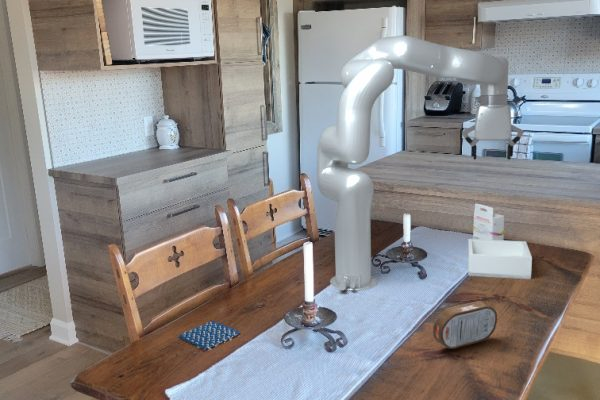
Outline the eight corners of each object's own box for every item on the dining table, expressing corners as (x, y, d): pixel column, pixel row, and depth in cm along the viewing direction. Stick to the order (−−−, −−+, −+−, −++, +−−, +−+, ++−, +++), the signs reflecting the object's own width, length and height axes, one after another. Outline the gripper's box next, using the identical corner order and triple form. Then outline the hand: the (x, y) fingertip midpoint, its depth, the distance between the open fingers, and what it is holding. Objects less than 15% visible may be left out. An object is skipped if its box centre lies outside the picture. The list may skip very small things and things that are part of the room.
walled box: (530, 279, 153) (532, 257, 152) (468, 275, 158) (469, 254, 156) (524, 261, 168) (526, 241, 166) (467, 258, 172) (468, 239, 170)
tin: (488, 332, 124) (490, 296, 122) (499, 338, 121) (500, 301, 120) (431, 348, 118) (431, 310, 117) (440, 354, 116) (441, 315, 114)
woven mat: (175, 343, 126) (174, 335, 125) (213, 326, 133) (212, 318, 133) (205, 358, 119) (204, 349, 118) (243, 339, 126) (242, 331, 126)
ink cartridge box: (503, 253, 175) (506, 206, 172) (491, 255, 173) (493, 208, 170) (484, 245, 183) (485, 200, 180) (471, 248, 181) (473, 202, 178)
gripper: (462, 102, 167) (461, 160, 171) (526, 101, 162) (523, 161, 166) (462, 100, 174) (461, 156, 178) (523, 99, 169) (521, 156, 173)
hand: (491, 158), depth 172 cm, fingers open, 9 cm apart
